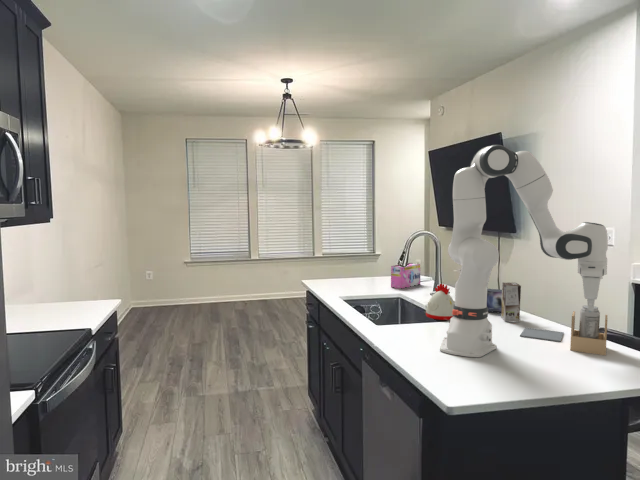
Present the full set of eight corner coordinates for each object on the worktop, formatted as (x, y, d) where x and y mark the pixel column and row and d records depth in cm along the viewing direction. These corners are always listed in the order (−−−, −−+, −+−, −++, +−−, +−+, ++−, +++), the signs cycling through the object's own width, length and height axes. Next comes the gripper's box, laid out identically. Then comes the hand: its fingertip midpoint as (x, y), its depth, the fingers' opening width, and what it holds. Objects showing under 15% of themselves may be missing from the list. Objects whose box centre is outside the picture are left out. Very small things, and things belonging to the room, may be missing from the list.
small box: (482, 312, 221) (483, 290, 221) (483, 309, 227) (484, 288, 227) (506, 314, 217) (507, 292, 217) (506, 311, 223) (507, 289, 223)
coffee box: (520, 322, 202) (521, 285, 200) (504, 321, 203) (505, 285, 202) (515, 317, 210) (516, 282, 209) (500, 316, 212) (501, 281, 211)
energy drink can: (594, 347, 166) (596, 305, 165) (600, 352, 161) (602, 309, 159) (576, 345, 168) (578, 304, 167) (581, 350, 162) (583, 308, 161)
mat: (560, 342, 172) (560, 340, 172) (519, 336, 180) (520, 335, 179) (563, 333, 184) (563, 332, 184) (525, 328, 191) (525, 327, 191)
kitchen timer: (441, 321, 203) (442, 287, 202) (419, 315, 215) (420, 283, 214) (463, 317, 211) (464, 284, 210) (440, 311, 222) (441, 280, 221)
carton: (605, 355, 157) (607, 320, 156) (570, 350, 162) (571, 316, 162) (605, 347, 166) (607, 314, 165) (572, 342, 171) (573, 310, 171)
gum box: (411, 283, 306) (411, 262, 305) (421, 284, 301) (422, 263, 300) (390, 287, 289) (390, 265, 288) (401, 289, 283) (401, 267, 282)
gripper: (583, 264, 173) (582, 301, 174) (580, 271, 155) (579, 312, 156) (602, 265, 169) (601, 303, 170) (602, 273, 152) (601, 314, 153)
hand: (591, 307), depth 163 cm, fingers open, 8 cm apart
